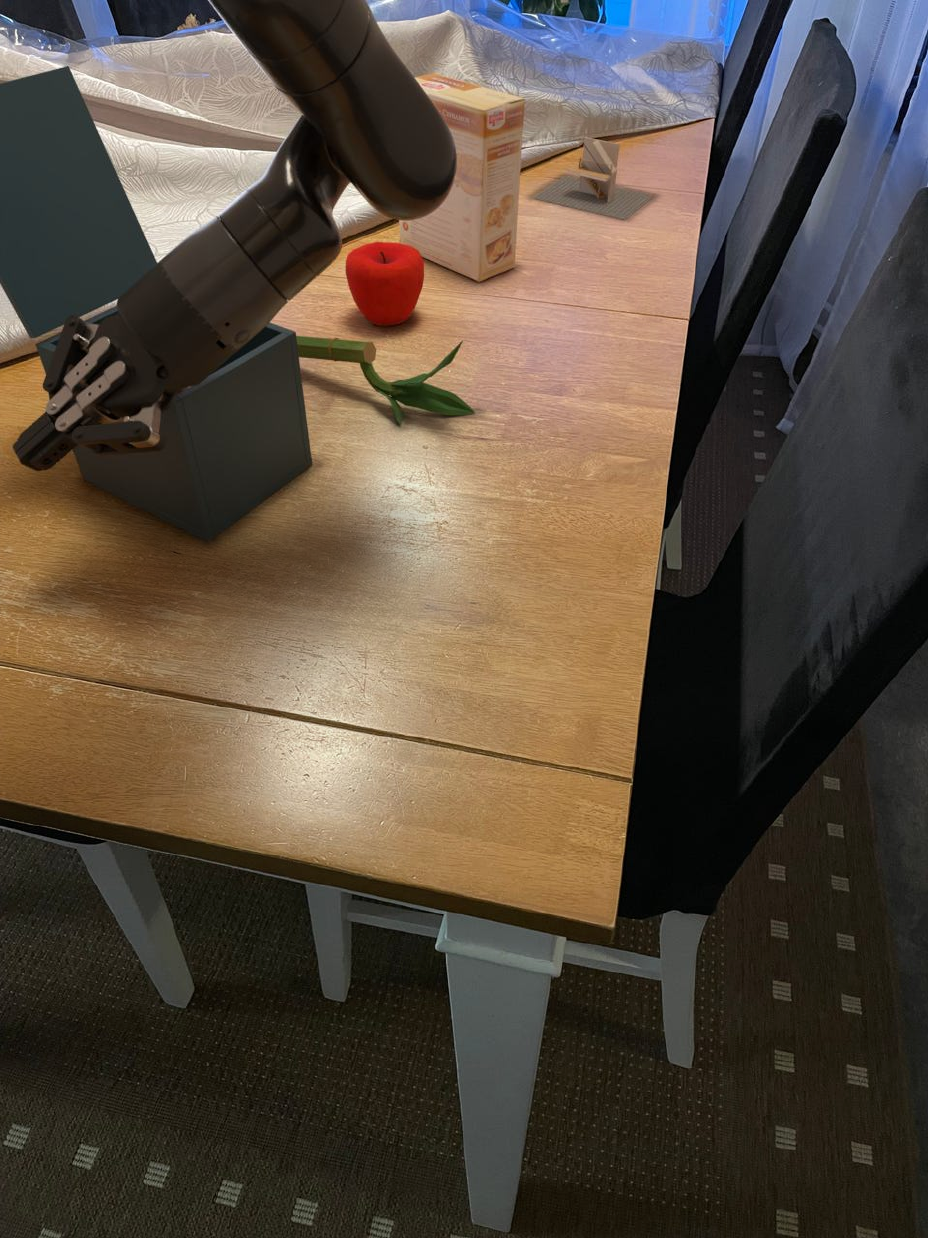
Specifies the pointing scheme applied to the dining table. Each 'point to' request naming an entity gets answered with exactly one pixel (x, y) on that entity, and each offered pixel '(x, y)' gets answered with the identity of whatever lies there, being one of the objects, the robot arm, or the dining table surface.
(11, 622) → the dining table surface
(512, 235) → the coffeecake box
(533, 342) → the dining table surface
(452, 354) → the decorative plant
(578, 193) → the architectural model
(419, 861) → the dining table surface
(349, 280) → the apple
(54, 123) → the lid
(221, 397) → the chest
